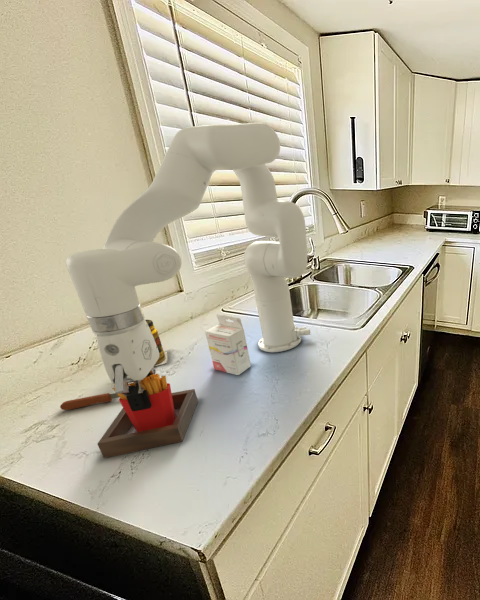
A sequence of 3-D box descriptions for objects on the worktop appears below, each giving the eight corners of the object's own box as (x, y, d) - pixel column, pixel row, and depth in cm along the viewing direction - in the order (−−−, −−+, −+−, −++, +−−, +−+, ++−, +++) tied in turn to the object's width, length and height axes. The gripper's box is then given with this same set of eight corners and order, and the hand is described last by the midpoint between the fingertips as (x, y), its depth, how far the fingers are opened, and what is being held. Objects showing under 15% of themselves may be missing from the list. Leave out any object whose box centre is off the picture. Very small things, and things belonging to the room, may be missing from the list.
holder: (198, 401, 75) (194, 388, 74) (182, 441, 64) (177, 427, 63) (132, 413, 72) (127, 400, 70) (103, 458, 60) (97, 443, 59)
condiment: (167, 363, 91) (155, 324, 86) (128, 373, 86) (114, 332, 82) (167, 352, 96) (156, 315, 92) (131, 361, 92) (117, 322, 88)
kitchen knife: (61, 412, 72) (58, 404, 72) (64, 408, 73) (61, 401, 73) (145, 395, 77) (143, 388, 77) (147, 392, 79) (145, 385, 78)
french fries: (181, 414, 71) (166, 367, 67) (178, 426, 68) (162, 378, 63) (133, 426, 68) (114, 378, 63) (128, 439, 64) (108, 389, 60)
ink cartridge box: (213, 370, 87) (200, 320, 82) (227, 360, 92) (216, 313, 86) (238, 376, 85) (227, 325, 79) (252, 366, 89) (242, 317, 84)
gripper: (120, 335, 52) (153, 425, 59) (158, 300, 67) (180, 374, 74) (63, 343, 50) (103, 435, 57) (114, 304, 65) (142, 381, 72)
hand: (146, 400), depth 65 cm, fingers closed on french fries, 4 cm apart
